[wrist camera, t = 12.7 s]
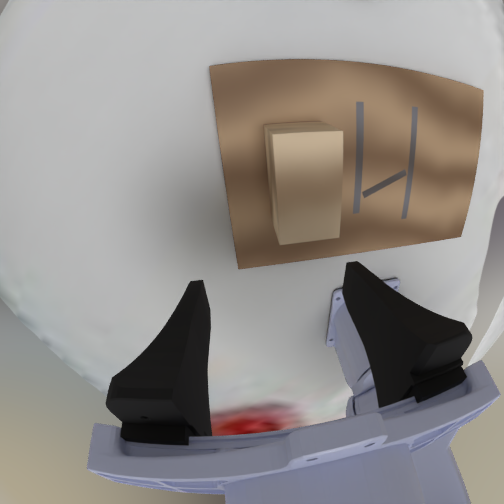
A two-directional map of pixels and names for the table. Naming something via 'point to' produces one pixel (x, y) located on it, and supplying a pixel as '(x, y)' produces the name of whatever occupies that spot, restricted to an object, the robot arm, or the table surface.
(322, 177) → the block
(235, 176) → the board
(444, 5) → the table surface
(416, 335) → the robot arm
